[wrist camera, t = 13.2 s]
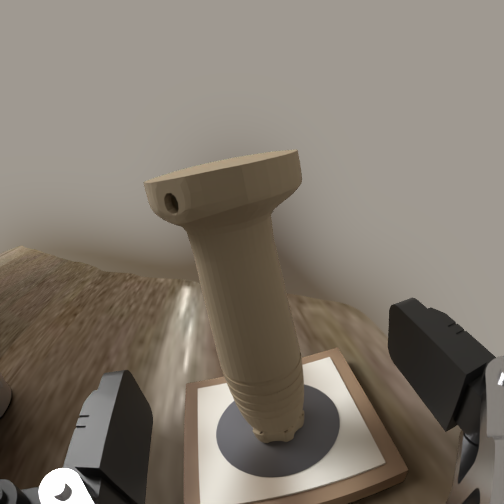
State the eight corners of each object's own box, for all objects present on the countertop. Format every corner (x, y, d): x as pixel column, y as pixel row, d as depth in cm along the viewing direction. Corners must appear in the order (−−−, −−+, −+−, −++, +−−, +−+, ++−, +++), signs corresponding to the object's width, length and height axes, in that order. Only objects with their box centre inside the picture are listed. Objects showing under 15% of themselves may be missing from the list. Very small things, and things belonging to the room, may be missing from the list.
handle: (259, 386, 20) (203, 163, 15) (343, 414, 16) (319, 145, 11) (213, 431, 17) (121, 188, 12) (301, 475, 13) (237, 168, 8)
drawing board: (194, 532, 12) (182, 523, 11) (192, 397, 23) (184, 380, 22) (403, 481, 12) (409, 467, 12) (338, 362, 24) (337, 344, 23)
